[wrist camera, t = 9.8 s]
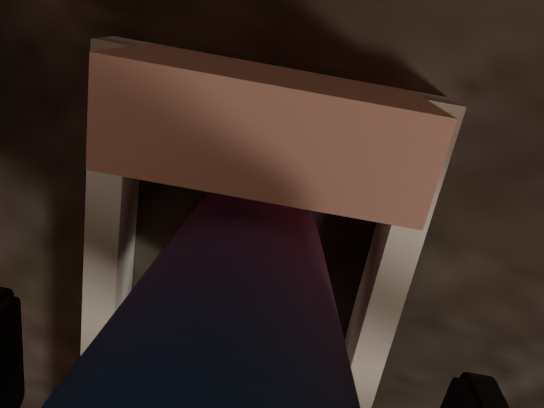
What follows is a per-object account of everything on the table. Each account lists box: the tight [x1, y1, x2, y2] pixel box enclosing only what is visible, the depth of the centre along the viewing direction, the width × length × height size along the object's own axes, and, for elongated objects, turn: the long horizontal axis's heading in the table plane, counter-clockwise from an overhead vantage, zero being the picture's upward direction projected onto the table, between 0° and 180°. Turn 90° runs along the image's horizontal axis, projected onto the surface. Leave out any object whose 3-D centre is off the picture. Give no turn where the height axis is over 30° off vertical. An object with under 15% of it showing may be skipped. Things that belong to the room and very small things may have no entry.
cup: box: [41, 192, 360, 408], centre depth 12 cm, size 7×7×15 cm
